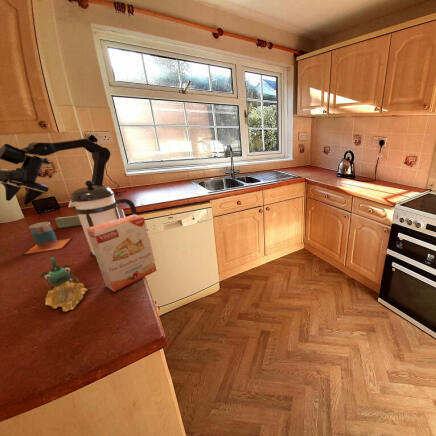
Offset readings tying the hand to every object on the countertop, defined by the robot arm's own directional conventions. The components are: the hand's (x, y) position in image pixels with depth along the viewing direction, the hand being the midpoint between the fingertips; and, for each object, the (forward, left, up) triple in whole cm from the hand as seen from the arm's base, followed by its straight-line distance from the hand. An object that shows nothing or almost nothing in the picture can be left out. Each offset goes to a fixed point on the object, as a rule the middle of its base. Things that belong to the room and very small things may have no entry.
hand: (16, 202), depth 105 cm
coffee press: (-38, +29, -18) cm, 51 cm away
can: (-10, +11, -18) cm, 23 cm away
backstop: (-11, -14, -18) cm, 25 cm away
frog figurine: (-31, +56, -18) cm, 66 cm away
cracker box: (-48, +54, -18) cm, 74 cm away
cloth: (-10, +11, -18) cm, 23 cm away
